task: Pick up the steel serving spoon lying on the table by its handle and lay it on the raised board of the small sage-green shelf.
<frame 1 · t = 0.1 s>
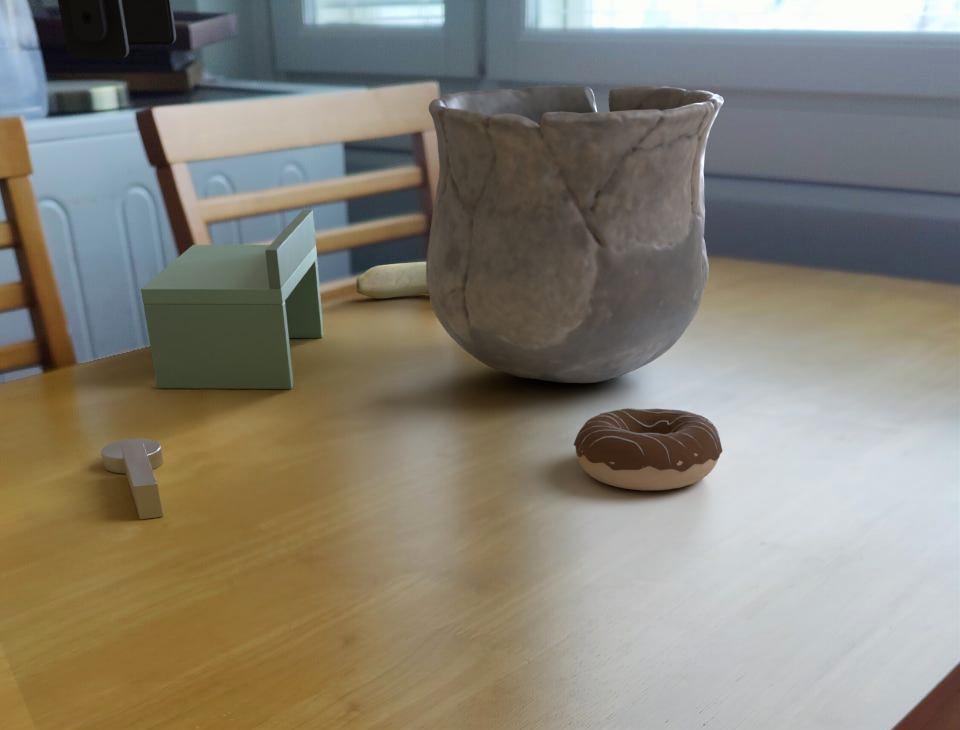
hand: (126, 50, 68), 27 cm above the table, tool pointing down, fingers open, 9 cm apart
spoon: (140, 483, 88), on the table
shelf: (245, 360, 114), on the table
donut: (645, 476, 89), on the table
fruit: (426, 302, 131), on the table
pot: (564, 376, 109), on the table
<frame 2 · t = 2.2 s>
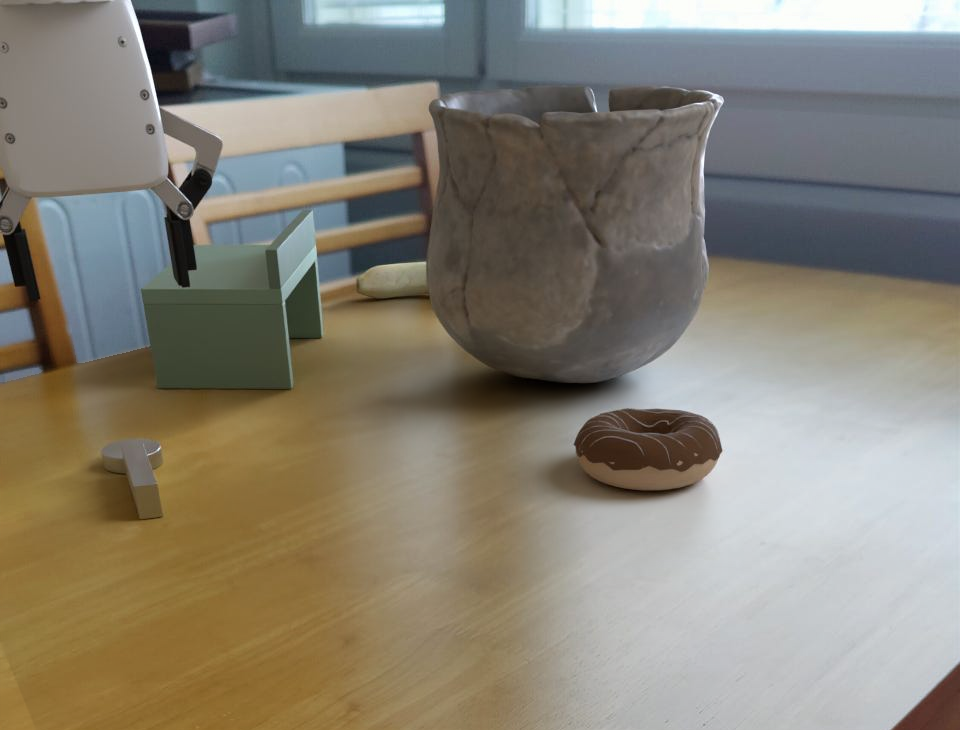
hand: (109, 290, 80), 13 cm above the table, tool pointing down, fingers open, 9 cm apart
nothing on the table moved.
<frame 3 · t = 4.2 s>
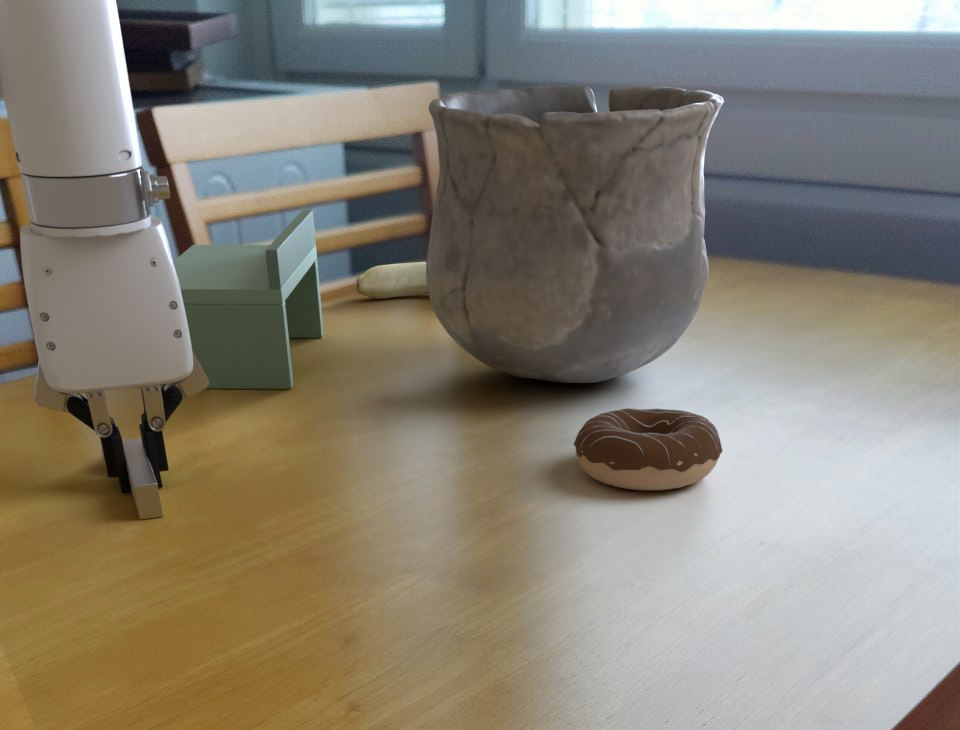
hand: (139, 481, 88), 0 cm above the table, tool pointing down, fingers closed on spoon, 1 cm apart
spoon: (140, 483, 88), on the table, touching gripper
everything else where it was.
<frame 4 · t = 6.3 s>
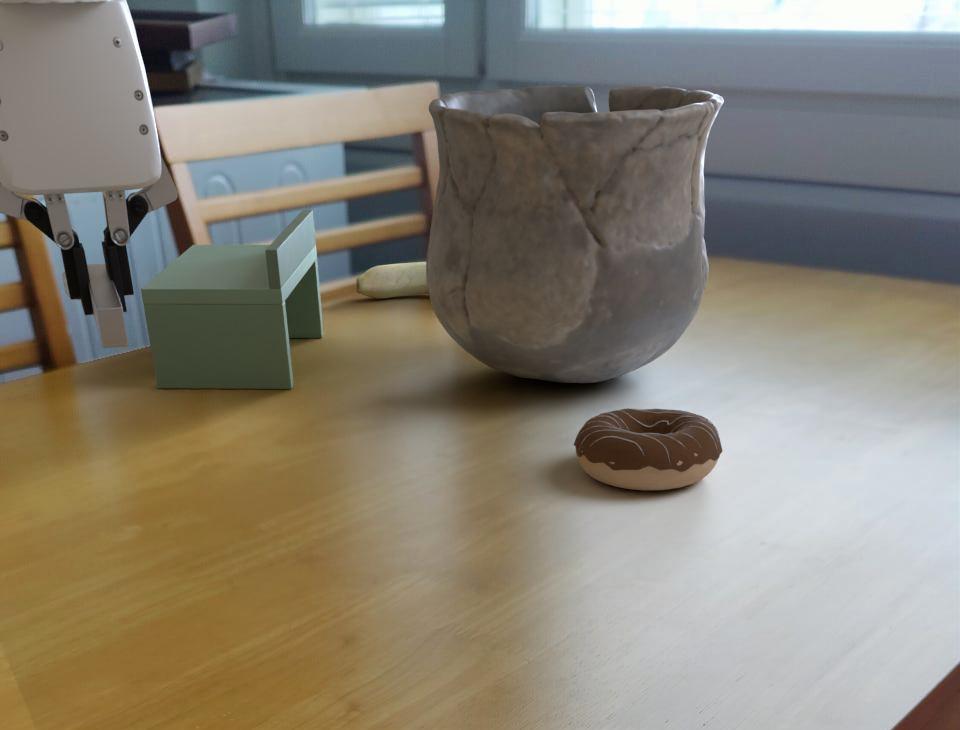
hand: (103, 307, 81), 12 cm above the table, tool pointing down, fingers closed on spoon, 1 cm apart
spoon: (104, 312, 81), point 12 cm above the table, touching gripper
everything else where it was.
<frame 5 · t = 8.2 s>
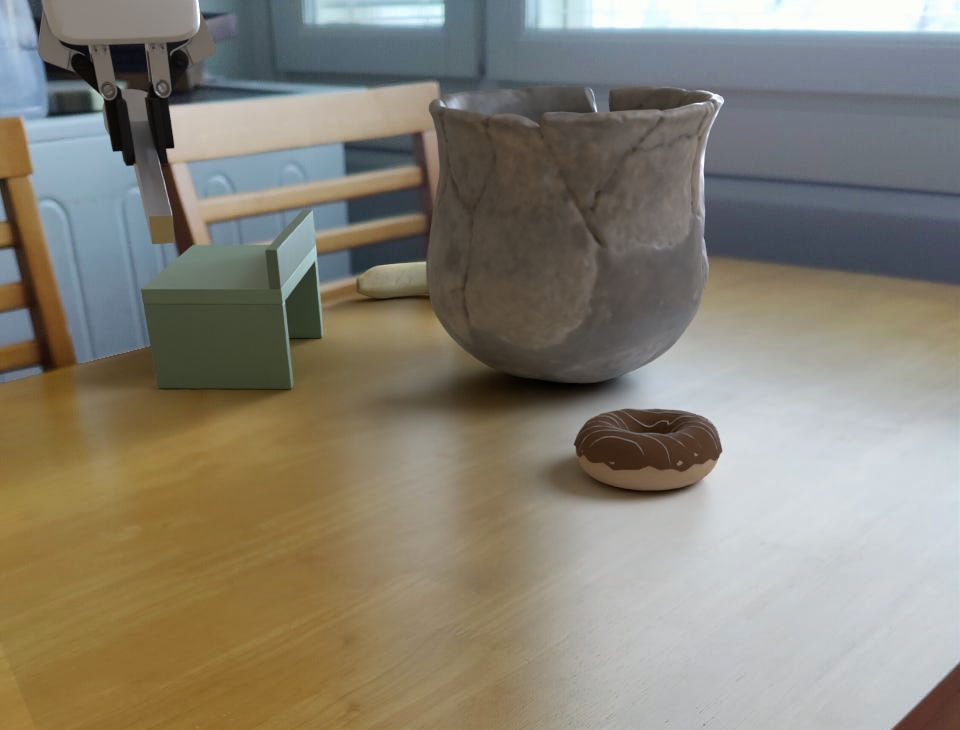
hand: (145, 160, 87), 19 cm above the table, tool pointing down, fingers closed on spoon, 1 cm apart
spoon: (146, 170, 88), point 18 cm above the table, tilted 33°, touching gripper
everything else where it was.
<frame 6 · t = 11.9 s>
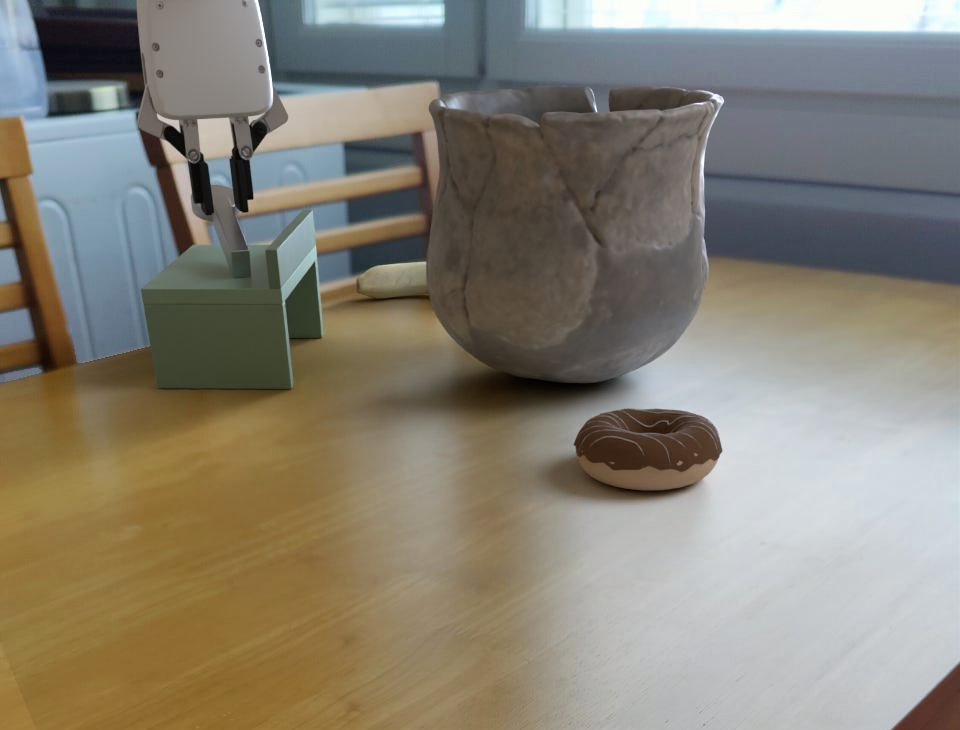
hand: (224, 209, 106), 13 cm above the table, tool pointing down, fingers closed
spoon: (226, 235, 109), point 10 cm above the table, tilted 18°, touching shelf
everything else where it was.
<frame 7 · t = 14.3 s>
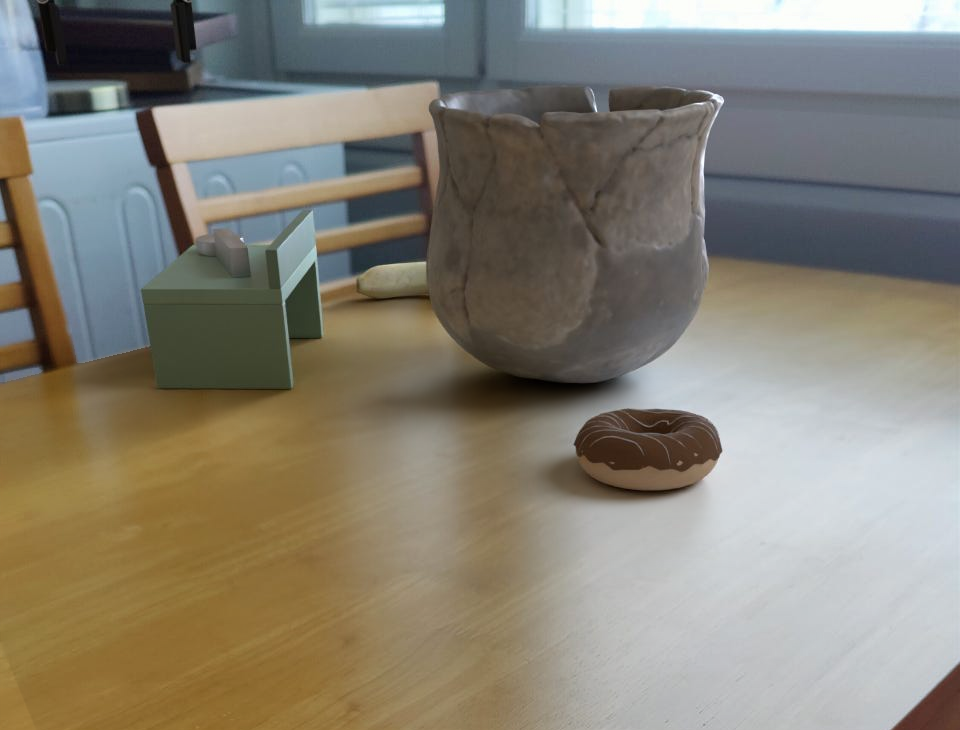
hand: (124, 62, 98), 24 cm above the table, tool pointing down, fingers open, 9 cm apart
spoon: (228, 261, 110), point 8 cm above the table, touching shelf
everything else where it was.
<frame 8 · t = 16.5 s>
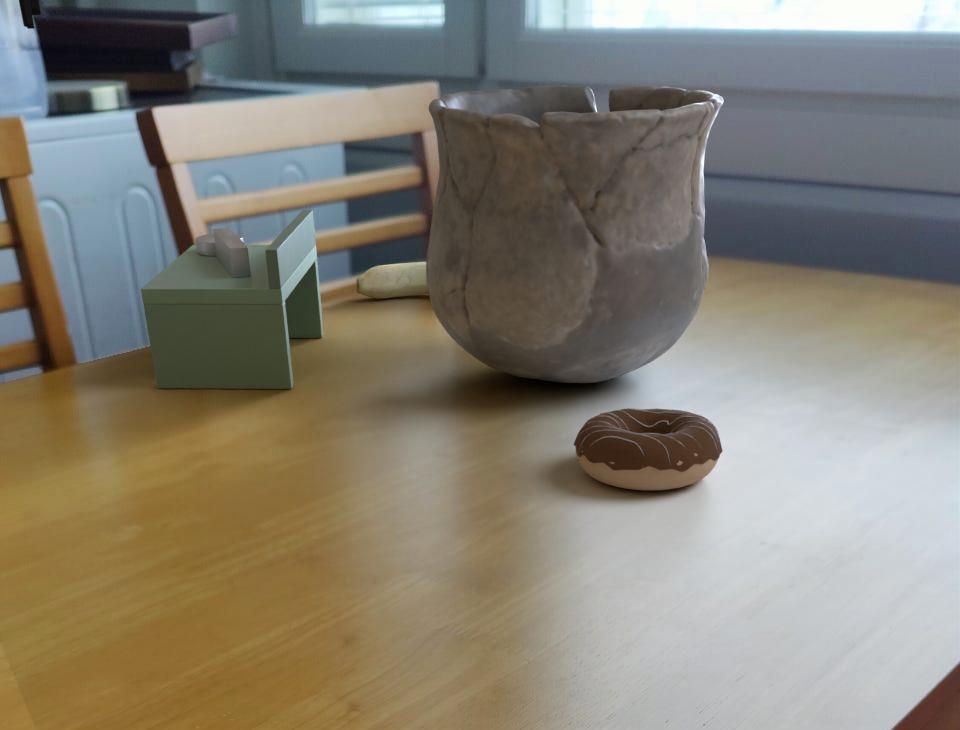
nothing on the table moved.
at the end: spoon inside the target area on the shelf (1.9 cm from its centre), point 8.2 cm above the shelf's base; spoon tilted 0°; the gripper is holding nothing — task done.
